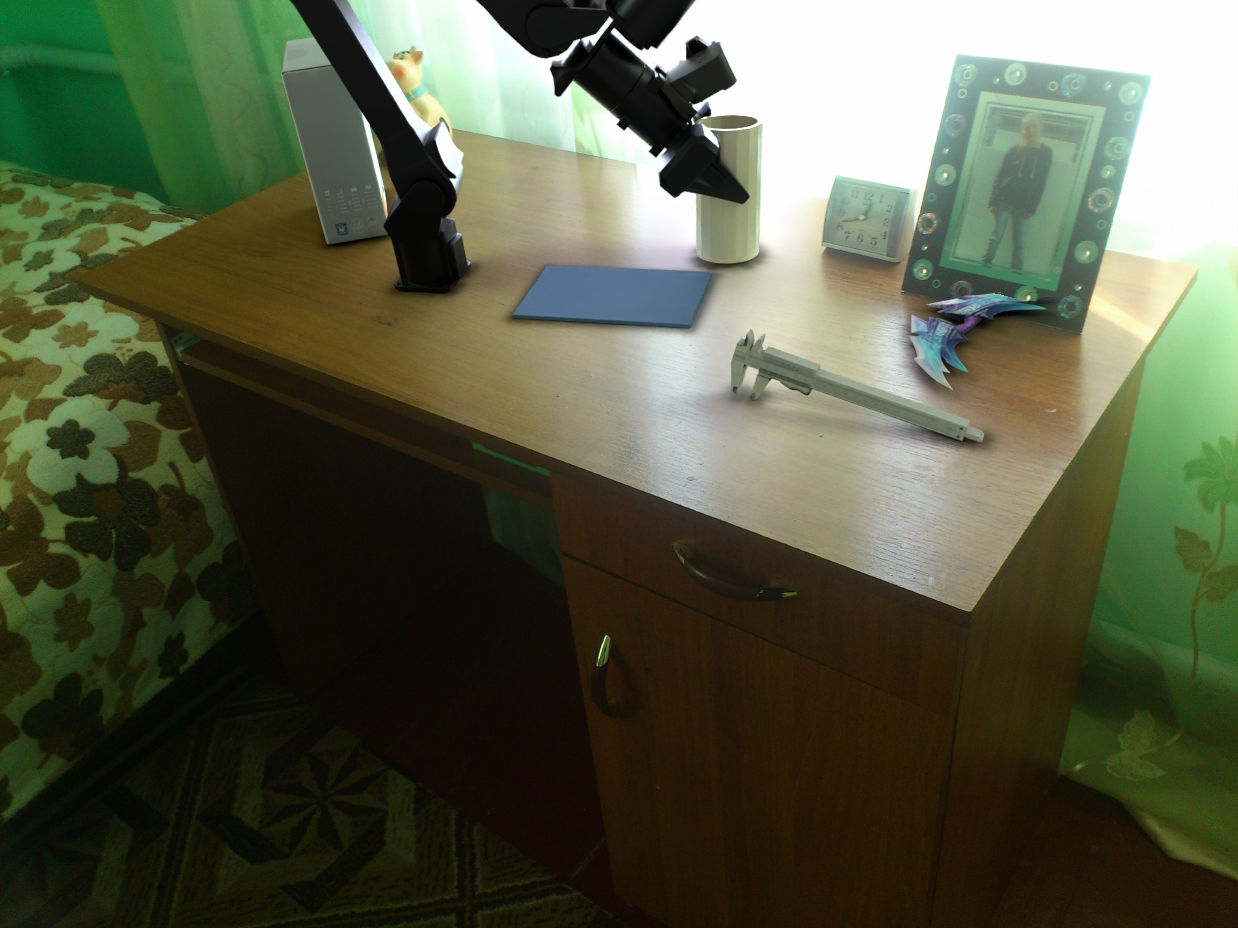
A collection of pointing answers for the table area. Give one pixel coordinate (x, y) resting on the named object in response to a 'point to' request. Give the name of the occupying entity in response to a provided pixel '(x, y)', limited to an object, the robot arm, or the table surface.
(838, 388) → the caliper
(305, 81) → the hard drive box
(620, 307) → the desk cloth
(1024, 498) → the table surface
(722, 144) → the pen cup
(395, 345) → the table surface
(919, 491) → the table surface
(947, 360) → the decorative blades
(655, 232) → the table surface
